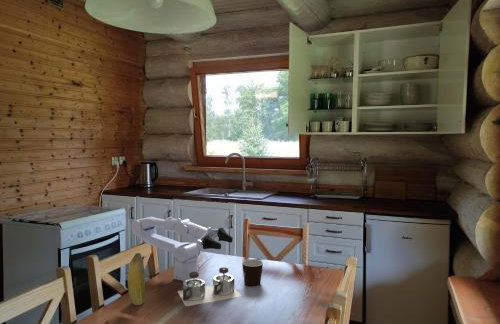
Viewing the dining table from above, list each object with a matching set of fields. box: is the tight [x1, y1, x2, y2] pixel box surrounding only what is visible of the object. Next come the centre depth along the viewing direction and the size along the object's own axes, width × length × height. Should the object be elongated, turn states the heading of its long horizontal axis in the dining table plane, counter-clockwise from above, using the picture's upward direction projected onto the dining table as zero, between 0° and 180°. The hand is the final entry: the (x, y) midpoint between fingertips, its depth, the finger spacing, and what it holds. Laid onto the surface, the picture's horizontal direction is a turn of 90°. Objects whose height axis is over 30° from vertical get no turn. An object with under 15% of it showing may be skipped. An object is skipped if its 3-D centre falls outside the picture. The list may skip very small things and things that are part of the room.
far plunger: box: [218, 267, 230, 281], centre depth 150 cm, size 5×5×4 cm
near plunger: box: [188, 271, 200, 286], centre depth 145 cm, size 5×5×4 cm
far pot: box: [212, 273, 235, 296], centre depth 149 cm, size 8×11×5 cm
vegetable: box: [127, 252, 146, 306], centre depth 139 cm, size 6×6×20 cm
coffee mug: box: [241, 258, 264, 288], centre depth 159 cm, size 12×9×10 cm
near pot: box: [182, 277, 206, 301], centre depth 144 cm, size 8×11×5 cm
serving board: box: [176, 284, 242, 307], centre depth 148 cm, size 22×14×1 cm, turn 113°
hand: (226, 243), depth 151 cm, fingers open, 7 cm apart
